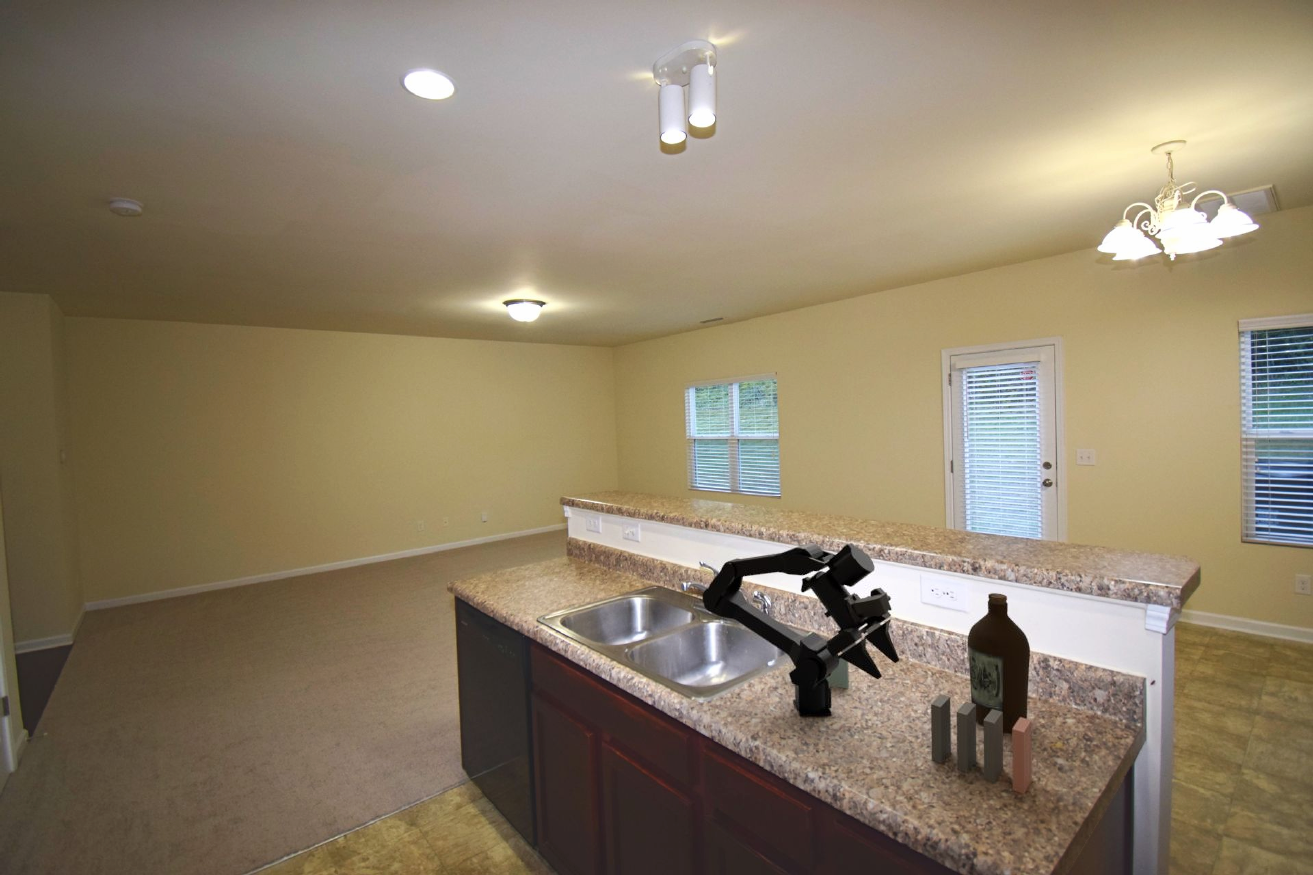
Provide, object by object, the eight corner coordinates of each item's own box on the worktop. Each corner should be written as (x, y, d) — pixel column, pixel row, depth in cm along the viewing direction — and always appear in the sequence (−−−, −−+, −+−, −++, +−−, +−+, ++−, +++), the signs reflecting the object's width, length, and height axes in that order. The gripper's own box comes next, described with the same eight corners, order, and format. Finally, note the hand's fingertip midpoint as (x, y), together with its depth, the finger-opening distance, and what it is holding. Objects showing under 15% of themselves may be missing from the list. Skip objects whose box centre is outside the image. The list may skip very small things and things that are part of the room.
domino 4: (1012, 789, 95) (1012, 728, 94) (1020, 775, 98) (1020, 716, 98) (1024, 793, 94) (1023, 732, 93) (1031, 779, 97) (1031, 720, 97)
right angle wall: (848, 691, 131) (847, 657, 131) (795, 679, 138) (794, 648, 137) (860, 670, 141) (859, 640, 141) (810, 661, 148) (810, 631, 148)
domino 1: (931, 759, 103) (931, 703, 103) (941, 748, 107) (940, 693, 107) (941, 763, 102) (940, 706, 102) (950, 751, 106) (950, 696, 106)
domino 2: (957, 769, 100) (956, 711, 100) (966, 756, 104) (965, 701, 104) (967, 773, 99) (966, 714, 99) (976, 760, 103) (975, 704, 103)
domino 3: (984, 779, 98) (983, 719, 97) (992, 765, 101) (992, 708, 101) (994, 783, 96) (994, 723, 96) (1003, 769, 100) (1002, 711, 100)
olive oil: (991, 703, 123) (990, 584, 122) (1043, 726, 113) (1042, 598, 113) (956, 715, 118) (954, 592, 118) (1006, 740, 109) (1005, 607, 108)
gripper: (845, 588, 107) (904, 666, 100) (883, 567, 121) (937, 634, 114) (803, 619, 113) (857, 694, 106) (844, 595, 127) (894, 661, 120)
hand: (888, 669), depth 111 cm, fingers open, 9 cm apart
